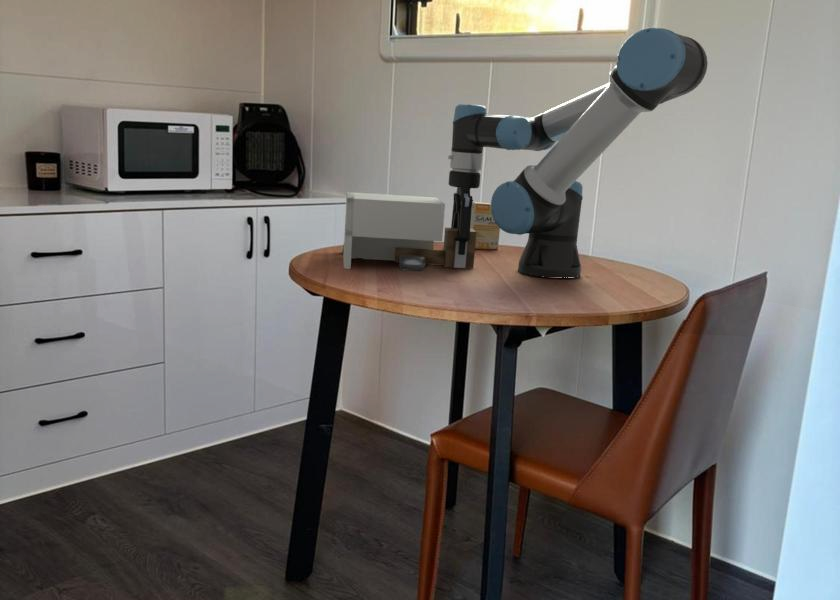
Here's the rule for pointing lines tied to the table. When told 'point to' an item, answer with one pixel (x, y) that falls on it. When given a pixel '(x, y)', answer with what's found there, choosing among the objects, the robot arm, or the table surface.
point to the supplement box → (484, 226)
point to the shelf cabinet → (389, 225)
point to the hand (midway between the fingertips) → (457, 264)
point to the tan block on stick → (447, 253)
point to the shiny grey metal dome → (412, 262)
